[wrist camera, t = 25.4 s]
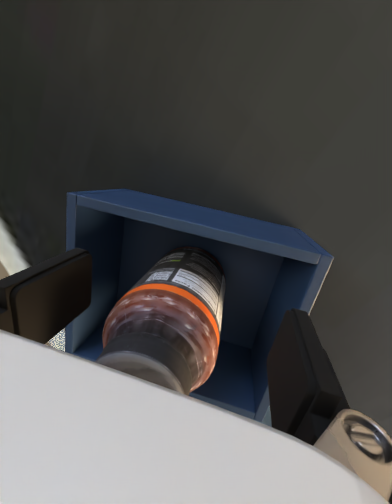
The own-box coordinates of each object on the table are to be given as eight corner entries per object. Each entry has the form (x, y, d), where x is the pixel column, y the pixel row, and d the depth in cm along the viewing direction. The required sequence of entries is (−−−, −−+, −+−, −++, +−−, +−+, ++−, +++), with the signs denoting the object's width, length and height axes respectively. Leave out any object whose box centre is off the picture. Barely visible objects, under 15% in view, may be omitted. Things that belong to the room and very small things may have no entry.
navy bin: (300, 229, 17) (334, 257, 11) (255, 351, 21) (262, 423, 15) (124, 188, 19) (66, 192, 12) (113, 308, 22) (64, 357, 16)
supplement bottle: (187, 320, 20) (130, 470, 10) (144, 269, 20) (32, 373, 9) (241, 286, 19) (244, 428, 8) (196, 229, 18) (131, 301, 7)
